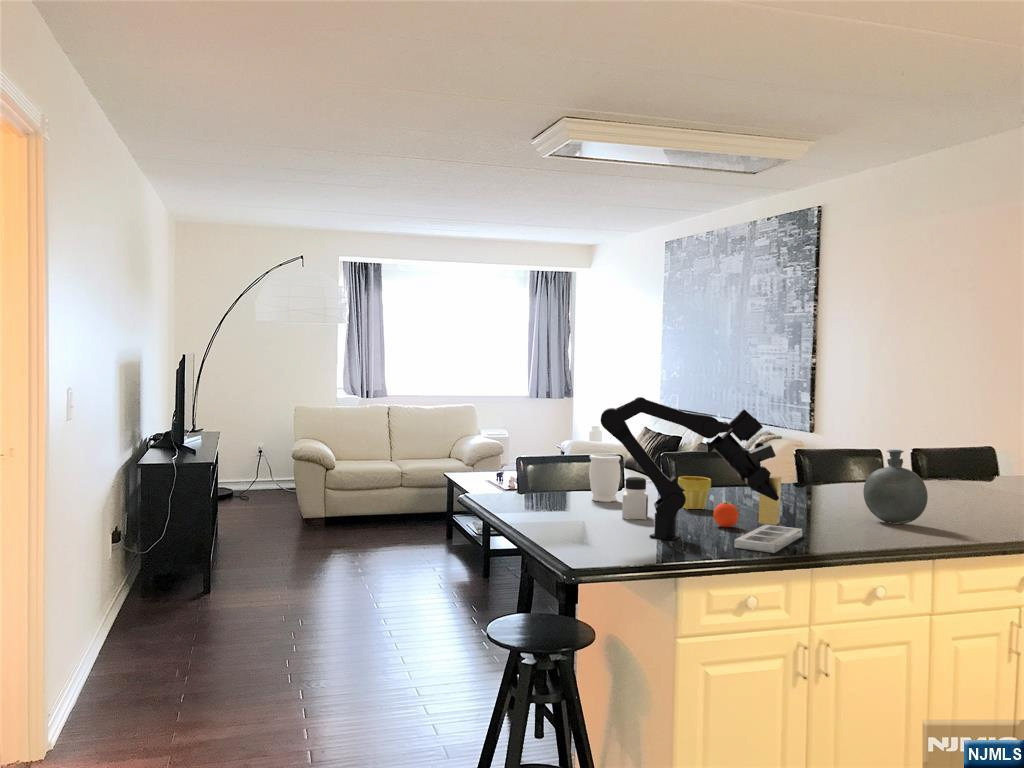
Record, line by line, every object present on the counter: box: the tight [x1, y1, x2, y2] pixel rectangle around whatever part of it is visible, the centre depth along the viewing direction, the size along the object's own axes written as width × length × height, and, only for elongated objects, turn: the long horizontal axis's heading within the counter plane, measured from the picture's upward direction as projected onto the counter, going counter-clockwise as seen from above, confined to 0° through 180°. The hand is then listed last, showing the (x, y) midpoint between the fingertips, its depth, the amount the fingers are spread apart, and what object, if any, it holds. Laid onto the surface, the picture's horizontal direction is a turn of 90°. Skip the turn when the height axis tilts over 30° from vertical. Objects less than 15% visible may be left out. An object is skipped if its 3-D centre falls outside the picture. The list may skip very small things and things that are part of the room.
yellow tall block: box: [758, 475, 782, 526], centre depth 222 cm, size 4×4×12 cm
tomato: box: [712, 501, 739, 528], centre depth 242 cm, size 8×7×7 cm
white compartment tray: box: [733, 524, 803, 554], centre depth 222 cm, size 26×10×2 cm, turn 147°
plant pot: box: [677, 475, 712, 510], centre depth 272 cm, size 10×10×10 cm
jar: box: [588, 453, 621, 503], centre depth 285 cm, size 11×10×15 cm
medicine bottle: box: [621, 476, 649, 521], centre depth 254 cm, size 7×7×12 cm
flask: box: [863, 449, 929, 525], centre depth 252 cm, size 12×17×22 cm
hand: (775, 497), depth 222 cm, fingers closed on yellow tall block, 6 cm apart
